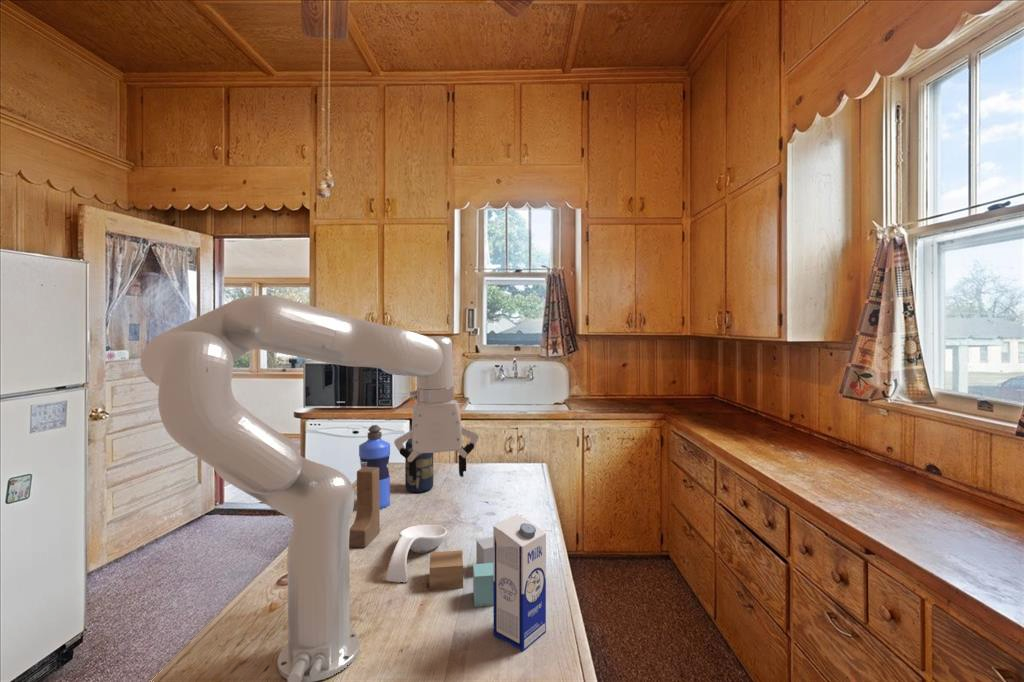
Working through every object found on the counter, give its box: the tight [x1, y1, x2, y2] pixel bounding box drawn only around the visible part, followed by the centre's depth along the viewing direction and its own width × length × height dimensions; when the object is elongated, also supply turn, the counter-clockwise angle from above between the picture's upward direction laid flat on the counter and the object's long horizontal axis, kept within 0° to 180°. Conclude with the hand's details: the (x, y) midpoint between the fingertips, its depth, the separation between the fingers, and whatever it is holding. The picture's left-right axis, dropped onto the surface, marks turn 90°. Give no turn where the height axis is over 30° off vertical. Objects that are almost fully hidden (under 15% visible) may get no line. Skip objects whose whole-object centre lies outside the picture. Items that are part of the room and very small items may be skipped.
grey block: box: [475, 536, 493, 564], centre depth 107 cm, size 5×5×6 cm
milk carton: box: [492, 513, 547, 652], centre depth 84 cm, size 7×7×20 cm
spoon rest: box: [386, 524, 448, 584], centre depth 112 cm, size 24×12×7 cm, turn 173°
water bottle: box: [358, 424, 391, 510], centre depth 146 cm, size 9×9×25 cm
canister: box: [404, 438, 434, 493], centre depth 161 cm, size 10×10×18 cm
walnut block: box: [429, 549, 464, 592], centre depth 102 cm, size 7×7×5 cm
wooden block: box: [349, 467, 381, 549], centre depth 121 cm, size 9×4×18 cm, turn 172°
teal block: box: [472, 563, 493, 607], centre depth 95 cm, size 5×5×6 cm
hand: (438, 476), depth 98 cm, fingers open, 9 cm apart
